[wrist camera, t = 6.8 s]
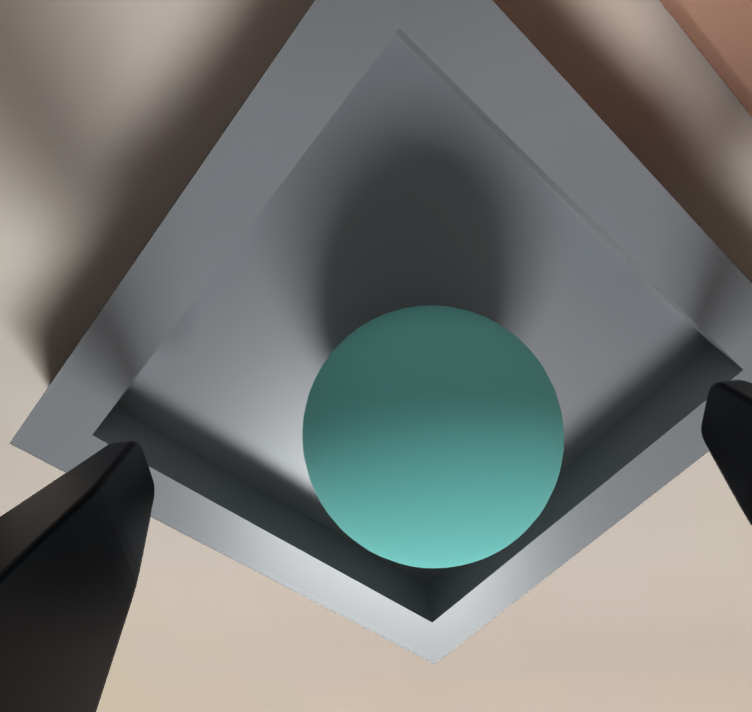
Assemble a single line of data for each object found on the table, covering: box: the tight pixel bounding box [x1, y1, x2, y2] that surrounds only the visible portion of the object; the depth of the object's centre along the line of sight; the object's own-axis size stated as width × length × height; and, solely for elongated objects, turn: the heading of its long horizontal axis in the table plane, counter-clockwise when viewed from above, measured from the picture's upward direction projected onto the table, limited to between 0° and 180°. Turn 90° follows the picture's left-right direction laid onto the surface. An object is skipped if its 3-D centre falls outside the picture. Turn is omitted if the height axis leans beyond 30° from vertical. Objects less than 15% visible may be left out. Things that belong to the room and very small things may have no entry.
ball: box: [302, 305, 564, 568], centre depth 9 cm, size 4×4×4 cm
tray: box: [10, 0, 752, 664], centre depth 11 cm, size 10×10×2 cm
